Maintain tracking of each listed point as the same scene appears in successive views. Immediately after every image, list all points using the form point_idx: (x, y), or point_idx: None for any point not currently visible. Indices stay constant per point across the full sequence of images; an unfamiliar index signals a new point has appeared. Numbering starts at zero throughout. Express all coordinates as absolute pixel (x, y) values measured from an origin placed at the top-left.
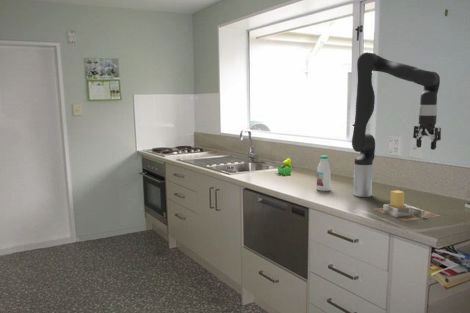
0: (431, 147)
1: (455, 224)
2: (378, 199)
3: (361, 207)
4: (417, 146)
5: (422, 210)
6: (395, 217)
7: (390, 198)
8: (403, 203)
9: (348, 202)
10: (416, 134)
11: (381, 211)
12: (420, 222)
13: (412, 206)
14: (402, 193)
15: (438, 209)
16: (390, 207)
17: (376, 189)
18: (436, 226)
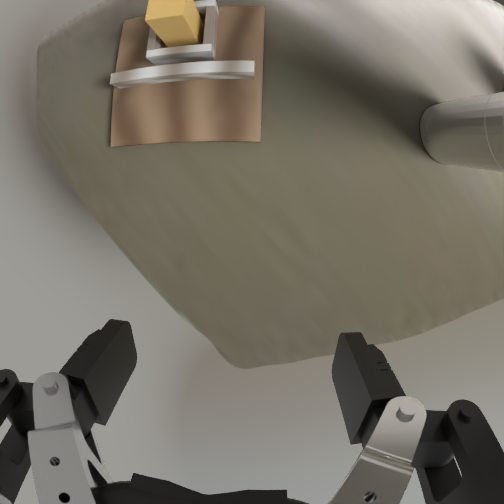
0: (108, 329)
1: (65, 142)
2: (382, 131)
3: (317, 11)
4: (348, 334)
5: (112, 78)
6: None
7: (193, 1)
8: (159, 35)
9: (384, 24)
10: (458, 471)
11: (227, 11)
12: (111, 65)
13: (228, 139)
14: (147, 14)
15: (184, 215)
16: None
17: (467, 240)
18: (74, 85)
